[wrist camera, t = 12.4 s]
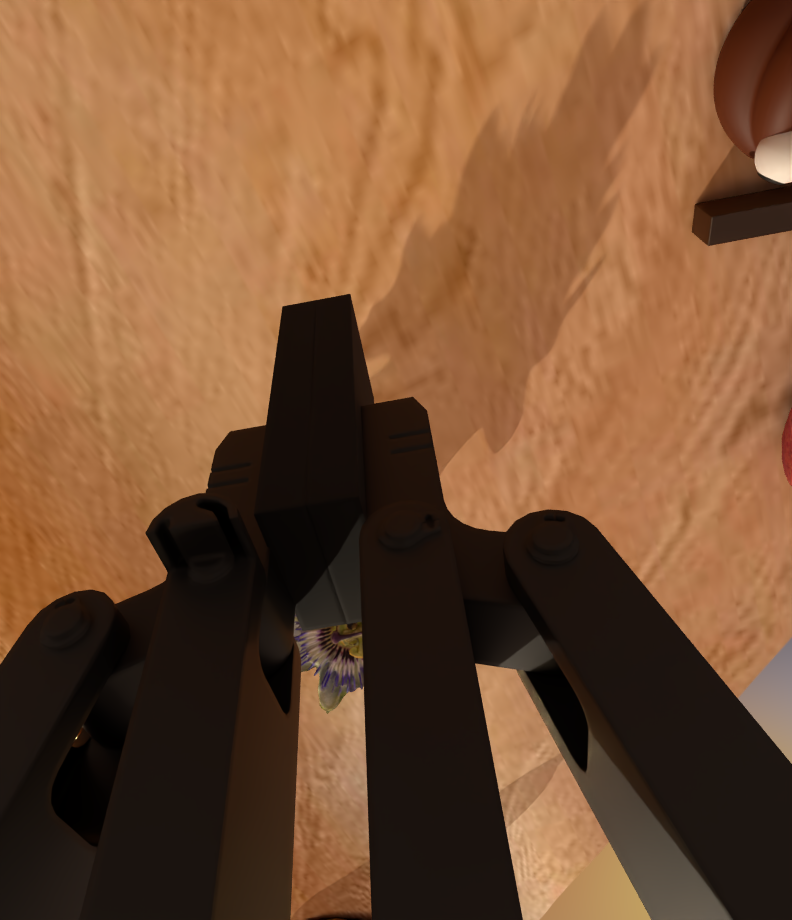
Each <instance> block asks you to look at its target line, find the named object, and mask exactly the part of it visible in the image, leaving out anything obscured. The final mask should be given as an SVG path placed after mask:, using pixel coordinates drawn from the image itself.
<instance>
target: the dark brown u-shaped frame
mask: <svg viewBox="0 0 792 920" xmlns="http://www.w3.org/2000/svg"><path fill="white" fill-rule="evenodd" d="M791 230H792V186H789V187H783V188H778V189H773V190H767V191H762V192H757V193H752V194H746V195H741V196H736V197H731V198H725V199H720V200H715V201H709V202H704V203H699V204H695V210H694V218H693V227H692V233H694V234H695V235H696V236H697V237H698V238H699V239H701V240H702V241H703V242H704V243H705V244H706V245H708V246H711V245H716V244H721V243H727V242H732V241H737V240H743V239H748V238H753V237H759V236H764V235H769V234H775V233H780V232H786V231H791Z"/></svg>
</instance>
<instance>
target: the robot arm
mask: <svg viewBox="0 0 792 920" xmlns="http://www.w3.org/2000/svg"><path fill="white" fill-rule="evenodd" d="M211 471H212V473H210V476H209V481H208V489H207V490H206V493H199V494H196V495H192V496H189V497H186V498H182V499H180V500H179V501H177V502H175V503H173V504H171V505H170V506H168V507H166V508H165V509H164V510H163V511H162V512H161V513H160V514H158V515H157V516H156V517H155V518H154V519H153V520H152V522H151V524H150V526H149V528H148V529H147V531H146V535H147V537H148V539H149V540H150V542H151V544H152V545H153V547H154V549H155V551H156V552H157V554H158V556H159V558H160V559H161V561H162V563H163V565H164V566H165V568H166V570H167V572H168V574H167V578H166V581H164V582H163V583H161V584H159V585H157V586H155V587H153V588H152V589H150V590H147V591H145V592H143V593H140V594H138V595H136V596H133V597H131V598H129V599H126V600H124V601H122V602H119V603H117V604H114V602H113V601H112V600H111V599H110V598H109V597H108V596H107V595H106V594H105V593H104V592H99V591H95V590H84V591H77V592H73V593H71V594H68V595H66V596H64V597H61V598H59V599H57V600H55V601H54V602H52V603H51V604H49V605H48V606H47V607H45V608H44V609H42V610H41V611H40V612H39V613H38V614H37V615H36V616H35V617H34V619H33V620H32V621H31V622H30V623H29V624H28V625H27V627H26V628H25V630H24V631H23V632H22V634H21V635H20V637H19V638H18V640H17V641H16V643H15V644H14V645H13V647H12V648H11V650H10V651H9V653H8V654H7V656H6V657H5V658H4V660H3V661H2V663H1V664H0V920H290V914H291V891H292V868H293V844H294V821H295V798H296V775H297V751H298V728H299V705H300V682H301V656H300V651H299V648H298V645H297V643H296V641H295V638H294V621H295V614H296V617H297V619H298V621H299V624H300V626H301V628H302V631H308V630H314V629H320V628H326V627H332V626H338V625H344V624H350V623H357V622H362V646H363V676H364V705H365V734H366V763H367V792H368V821H369V850H370V879H371V908H372V920H523V918H522V913H521V907H520V902H519V897H518V891H517V886H516V881H515V875H514V870H513V864H512V859H511V854H510V848H509V843H508V838H507V832H506V827H505V822H504V816H503V811H502V805H501V800H500V795H499V789H498V784H497V779H496V773H495V768H494V762H493V757H492V752H491V746H490V741H489V736H488V730H487V725H486V720H485V714H484V709H483V703H482V698H481V693H480V687H479V682H478V677H477V671H476V666H475V663H477V664H483V665H490V666H497V667H504V668H510V669H516V670H517V673H518V675H519V676H520V678H521V680H522V682H523V684H524V686H525V687H526V689H527V691H528V693H529V695H530V697H531V699H532V700H533V702H534V704H535V706H536V708H537V710H538V711H539V713H540V715H541V717H542V719H543V721H544V723H545V724H546V726H547V728H548V730H549V732H550V734H551V735H552V737H553V739H554V741H555V743H556V745H557V746H558V748H559V750H560V752H561V754H562V756H563V758H564V759H565V761H566V763H567V765H568V767H569V769H570V770H571V772H572V774H573V776H574V778H575V780H576V781H577V783H578V785H579V787H580V789H581V791H582V793H583V794H584V796H585V798H586V800H587V802H588V804H589V805H590V807H591V809H592V811H593V813H594V815H595V816H596V818H597V820H598V822H599V824H600V826H601V828H602V829H603V831H604V833H605V835H606V837H607V839H608V840H609V842H610V844H611V846H612V848H613V850H614V851H615V853H616V855H617V857H618V859H619V861H620V862H621V864H622V866H623V868H624V870H625V872H626V874H627V875H628V877H629V879H630V881H631V883H632V885H633V886H634V888H635V890H636V892H637V894H638V896H639V898H640V899H641V901H642V903H643V905H644V907H645V909H646V910H647V912H648V914H649V916H650V918H651V920H792V764H791V763H790V761H789V760H788V759H787V758H786V757H785V755H784V754H783V753H782V752H781V750H780V749H779V748H778V747H777V746H776V744H775V743H774V742H773V741H772V740H771V738H770V737H769V736H768V735H767V733H766V732H765V731H764V730H763V729H762V727H761V726H760V725H759V724H758V723H757V721H756V720H755V719H754V718H753V717H752V715H751V714H750V713H749V712H748V710H747V709H746V708H745V707H744V706H743V704H742V703H741V702H740V701H739V700H738V698H737V697H736V696H735V695H734V694H733V692H732V691H731V690H730V689H729V687H728V686H727V685H726V684H725V683H724V681H723V680H722V679H721V678H720V677H719V675H718V674H717V673H716V672H715V670H714V669H713V668H712V667H711V666H710V664H709V663H708V662H707V661H706V660H705V658H704V657H703V656H702V655H701V654H700V652H699V651H698V650H697V649H696V647H695V646H694V645H693V644H692V643H691V641H690V640H689V639H688V638H687V637H686V635H685V634H684V633H683V632H682V631H681V629H680V628H679V627H678V626H677V624H676V623H675V622H674V621H673V620H672V618H671V617H670V616H669V615H668V614H667V612H666V611H665V610H664V609H663V607H662V606H661V605H660V604H659V603H658V601H657V600H656V599H655V598H654V597H653V595H652V594H651V593H650V592H649V591H648V589H647V588H646V587H645V586H644V584H643V583H642V582H641V581H640V580H639V578H638V577H637V576H636V575H635V574H634V572H633V571H632V570H631V569H630V568H629V566H628V565H627V564H626V563H625V561H624V560H623V559H622V558H621V557H620V555H619V554H618V553H617V552H616V551H615V549H614V548H613V547H612V546H611V545H610V543H609V542H608V541H607V540H606V538H605V537H604V536H603V535H602V534H601V532H600V531H599V530H598V529H597V528H596V527H595V526H594V525H593V524H591V523H590V522H589V521H588V520H587V519H585V518H584V517H582V516H579V515H576V514H574V513H571V512H568V511H561V510H543V511H538V512H533V513H529V514H527V515H526V516H524V517H522V518H520V519H518V520H516V521H515V522H514V523H513V525H512V526H511V527H510V528H509V529H508V531H507V532H499V531H488V530H483V529H477V528H473V527H471V526H468V525H466V524H463V523H462V522H460V521H459V520H457V519H456V518H455V517H453V515H452V514H451V513H450V512H449V511H448V509H447V507H446V504H445V502H444V498H443V493H442V488H441V482H440V477H439V472H438V466H437V461H436V456H435V451H434V446H433V440H432V435H431V430H430V424H429V419H428V414H427V410H426V409H425V408H424V407H423V406H422V405H421V404H420V403H419V402H418V401H417V400H416V399H415V398H414V397H410V398H404V399H399V400H393V401H387V402H382V403H376V404H374V397H373V393H372V388H371V384H370V379H369V375H368V370H367V366H366V362H365V357H364V353H363V348H362V344H361V339H360V335H359V331H358V326H357V322H356V317H355V313H354V308H353V304H352V300H351V295H350V294H347V295H341V296H336V297H331V298H325V299H320V300H315V301H309V302H304V303H299V304H293V305H288V306H283V307H282V314H281V322H280V329H279V336H278V343H277V350H276V358H275V365H274V372H273V379H272V386H271V394H270V401H269V408H268V415H267V422H266V425H264V426H258V427H253V428H247V429H242V430H236V431H231V432H229V433H228V435H227V436H226V437H225V439H224V440H223V441H222V443H221V444H220V445H219V446H218V448H217V449H216V450H215V455H214V459H213V463H212V468H211ZM82 727H83V729H82V731H81V733H80V734H79V732H80V730H81V728H82ZM78 734H79V736H78V737H77V735H78ZM76 737H77V738H76Z"/></svg>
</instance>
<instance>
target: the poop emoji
mask: <svg viewBox="0 0 792 920" xmlns="http://www.w3.org/2000/svg"><path fill="white" fill-rule="evenodd" d="M714 102H715V107H716V112H717V115H718V118H719V120H720V123H721V125H722V127H723V129H724V131H725V132H726V134H727V135H728V137H729V138H730V139H731V140H732V142H733V143H734V144H735V145H736V146H737V147H738V148H739V149H740V150H741V151H742V152H744V153H745V154H746V155H747V156H749V157H750V158H754V159H755V166H756V169H757V171H758V175H759V176H760V177H761V178H763V179H764V180H766V181H768V182H771V183H773V184H777V185H784V184H785V183H790V182H792V0H752V1H751V2H750V3H749V4H748V5H747V6H746V8H745V9H744V10H743V12H742V13H741V14H740V16H739V17H738V19H737V20H736V22H735V23H734V25H733V27H732V28H731V30H730V32H729V34H728V36H727V38H726V40H725V42H724V45H723V47H722V50H721V52H720V55H719V59H718V62H717V66H716V71H715V77H714Z"/></svg>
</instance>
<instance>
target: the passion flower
mask: <svg viewBox="0 0 792 920" xmlns="http://www.w3.org/2000/svg"><path fill="white" fill-rule="evenodd" d="M294 638H295V641H296V643H297V645H298V648H299V651H300V656H301V672H303V671H308V670H310V669H311V668H313V667H316V668H317V670H316V672H315V674H314V676H315V675H316V674H317V673H319V675H320V676H319V677H320V679H319V686H318V696H319V700H320V706H321V708H322V709H324V710H325V711H326V713H327V714H328V713H329V712H330V711H332V710H333V709H335V708H336V707H337V706H338V705H339V703H340V702H341V700H342V698H343V697H344V696H345V695H346V694H347V693H348V692H353V691H355V690H356V689H357V688H359V687H360V688H361V689H363V687H364V676H363V646H362V622H357V623H350V624H344V625H338V626H332V627H326V628H320V629H314V630H308V631H302V628H301V626H300V624H299V621H298V619H297V617H296V614H295V621H294Z"/></svg>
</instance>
